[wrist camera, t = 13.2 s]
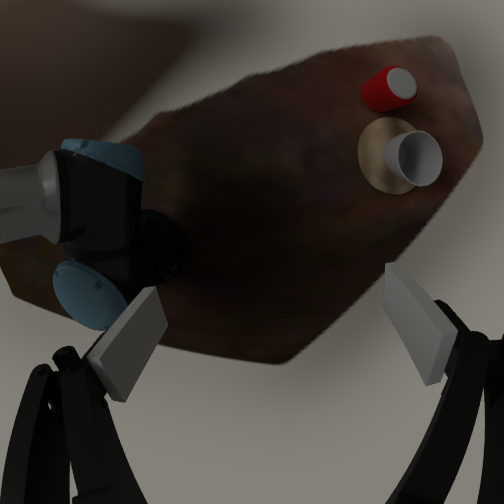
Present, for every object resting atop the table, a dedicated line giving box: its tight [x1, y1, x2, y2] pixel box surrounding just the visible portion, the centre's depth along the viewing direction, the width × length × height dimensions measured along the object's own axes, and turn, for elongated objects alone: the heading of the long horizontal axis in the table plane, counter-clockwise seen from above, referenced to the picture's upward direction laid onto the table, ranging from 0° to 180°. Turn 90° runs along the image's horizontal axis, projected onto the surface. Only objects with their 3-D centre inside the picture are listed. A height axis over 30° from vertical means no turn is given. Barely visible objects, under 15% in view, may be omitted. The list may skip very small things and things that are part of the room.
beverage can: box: [361, 66, 417, 112], centre depth 33 cm, size 6×6×12 cm
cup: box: [382, 131, 443, 186], centre depth 37 cm, size 8×8×10 cm
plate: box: [357, 117, 417, 194], centre depth 42 cm, size 14×14×1 cm
